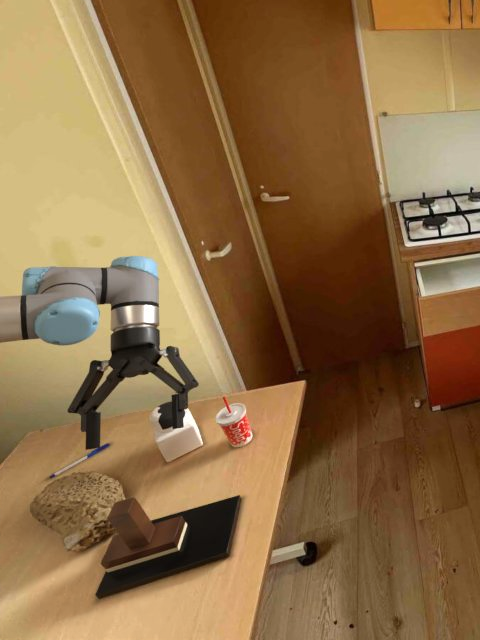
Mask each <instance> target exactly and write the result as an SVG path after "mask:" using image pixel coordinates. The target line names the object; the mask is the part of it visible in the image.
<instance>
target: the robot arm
mask: <svg viewBox="0 0 480 640" xmlns="http://www.w3.org/2000/svg"><path fill="white" fill-rule="evenodd" d="M99 305H110V329H109V330H110V331H111V332H112V333H111V334H110V354H111V355H110V358H109V359H106V360H105V359H104V360H98V359H93V360H91V361H90V363H89V367H88V368H89V369H88V373H87V375H86V377H85V378H84V379H83V382H82V384H81V385H80V387H79V389H78V391H77V392H76V394H75V395H74V397H73V399H72V401H71V403H70V404H69V406H68V408H67V413H68V414H77V415H79V416H80V431H81V433H85V451H88V450H95V449H97V448H101V423H102V422H101V419H102V417H101V415H102V412H101V411H97V410H98V409H99V408H100V406H102V404H104V402H105V400H106V399H108V397H109V396H110V395H111V394H112V392H113V391H114V390H115V389H116V388H117V386H118V385H119V384H120V383H121V382H123V381H124V380H125V379H126V378H128V379H131V378H135V377H138V376H146V375H149V374H152V375H153V376H154V377H156V378H157V379H158V380H160V381H161V382H163V384H165V385H166V386H168V387H169V388H170V389H172V390H173V391H174V392H175V393H174V394H171V401H172V428H173V429H178V428H183V427H184V421H183V410H184V409H187V408H188V409H189V392H190V391H192V390H194V389H196V388H198V387H199V386H200V385H199V384H200V383H199V382H198V380H197V379H196V377H195V376H194V375H193V373H192V372H191V371H190V369H189V368H188V366H187V365H186V363H185V362H184V360H183V358H182V357H181V356H180V350H179V347H177V346H173V345H168V346H166V348H163V349H161V348H160V346H161V332H160V329H159V328H158V327H159V326H160V278H159V271H158V263H157V262H156V261H155V260H154V259H153V258H150V257H148V256H143V255H130V256H120V257H117V258H114V259H113V260H112V261H111V264H110V266H106V267H90V266H89V267H88V266H87V267H84V266H82V267H81V266H56V265H49V266H34V267H33V266H31V267H28V268H26V269H25V270H24V271H23V273H22V282H21V294H20V295H6V296H4V295H3V296H0V344H1V343H9V342H19V341H28V340H41V341H43V342H44V343H47V344H50V345H54V346H71V345H75V344H79V343H81V342H84V341H85V340H87V339H89V338H90V337H92V336H93V335H94V334H95V332H96V331H97V329H98V327H99V324H100V317H101V310H100V308H99ZM162 357H163V358H165V359H167V360H168V361H169V363H170V364H171V366H172V367H173V369H174V370H175V372H176V373H177V375H178V376H179V378H180V379H181V380H182V382H183V383H182V382H181V381H180V380H179V379H177V378H176V377H175V376H173V375H172V374H171V373H170V372H169V371H167V370H166V369H165V368H164V367H163V366H162V365H161V364H159V362H160V360H161V359H162ZM109 367H110V368H111V369H112V370H111V371H110V372H109V373H108V374H107V375H106V377H105V380H104V381H103V382H102V383H101V385H100V386H99V384H100V382H101V380H102V379H103V377H104V374H105V372H106V371H107V370H109ZM98 386H99V387H98ZM97 387H98V388H97Z"/></svg>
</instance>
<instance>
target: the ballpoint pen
mask: <svg viewBox="0 0 480 640" xmlns="http://www.w3.org/2000/svg"><path fill="white" fill-rule="evenodd" d="M110 445H111V444H110V443H104V444H103V445H100V448H95V449H92V450H91V452H90V453H88V454H86V455H85V456H83V457H81V458H80V459H78V460H76V461H74V462H72V463H70V464H69V465H67V466H65V467H63V468H62V469H60V470H58V471H56V472H54V473H53V474H51V475H50V476H49V479H53V478H55V477H56V476H58V475H60V474H62V473H63V472H65V471H67V470H69V469H71V468H73V467H74V466H77V465H78V464H80V463H81V462H83V461H85V460H87V459H88V458H90V457H92V456H94V455H96V454H98V453H100V452H102V451H103V450H105V449H106V448H108V447H109V446H110Z"/></svg>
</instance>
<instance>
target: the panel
mask: <svg viewBox="0 0 480 640" xmlns="http://www.w3.org/2000/svg"><path fill="white" fill-rule="evenodd" d="M242 500H243V498H242V496H241V495H240V494H238V495H235V496H231V497H227V498H224V499H221V500H217V501H214V502H211V503H206V504H203V505H200V506H196V507H193V508H190V509H186V510H182V511H179V512H175V513H172V514H169V515H165V516H161V517H158V518H155V519H150V520H151V522H152V523H153V524H156V523H159V522H163V521H166V520H169V519H173V518H176V517H180V516H182V517H183V518H184V520H185V522H186V523H187V528H186V531H185V534H184V537H183V540H182V544H181V547H180V550H179V551H176V552H172V553H169V554H166V555H163V556H160V557H156V558H153V559H150V560H147V561H143V562H140V563H137V564H134V565H131V566H127V567H124V568H121V569H118V570H115V571H111V572H107V571H106V570H105V572H104V573H103V576H102V578H101V581H100V583H99V584H98V588H97V589H96V592H95V594H94V596H95V597H96V598H97V599H98V600H101V599H105V598H108V597H111V596H114V595H117V594H120V593H123V592H126V591H129V590H132V589H135V588H139V587H142V586H145V585H148V584H150V583H153V582H158V581H160V580H164V579H166V578H169V577H173V576H176V575H179V574H182V573H186V572H188V571H191V570H194V569H196V568H200V567H203V566H206V565H209V564H212V563H216V562H219V561H222V560H224V559H225V560H226V559H227V558H230V555H231V551H232V545H233V540H234V538H235V537H234V536H235V533H236V532H235V531H236V527H237V523H238V519H239V514H240V510H241V504H242Z"/></svg>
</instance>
